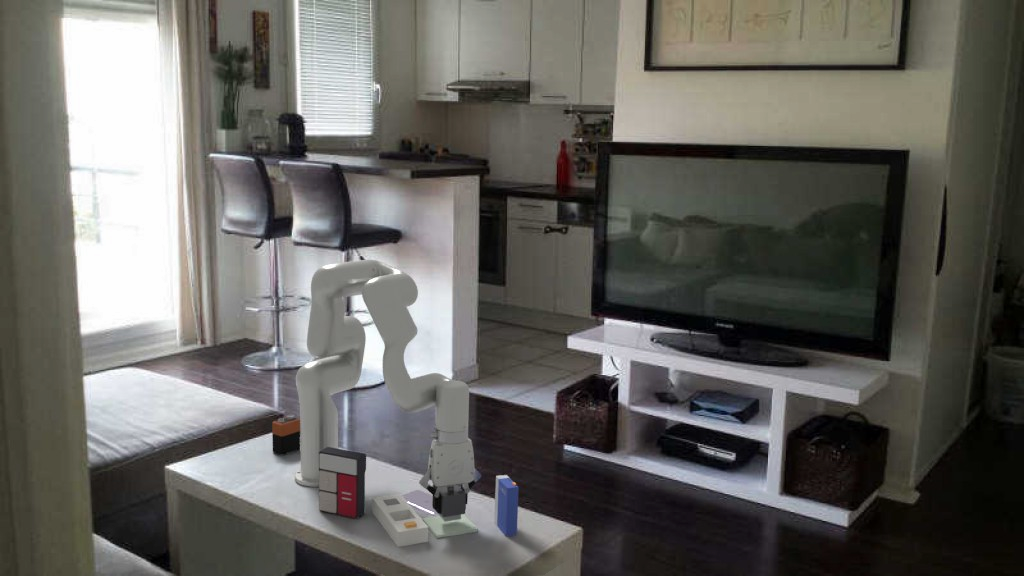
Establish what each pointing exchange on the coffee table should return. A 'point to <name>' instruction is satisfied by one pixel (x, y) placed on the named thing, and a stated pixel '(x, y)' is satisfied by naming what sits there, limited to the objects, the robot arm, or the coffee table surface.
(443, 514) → the grey knobbed block
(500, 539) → the coffee table surface
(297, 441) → the battery
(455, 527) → the mat
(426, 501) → the mobile phone
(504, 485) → the walkman
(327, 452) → the red grey panelled box
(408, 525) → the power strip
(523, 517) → the coffee table surface
